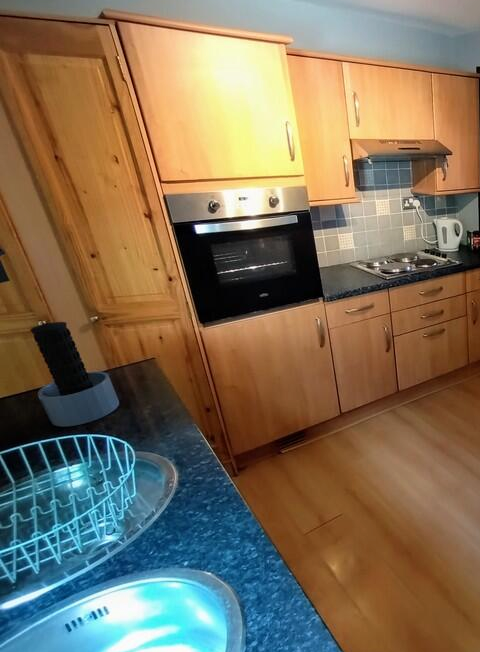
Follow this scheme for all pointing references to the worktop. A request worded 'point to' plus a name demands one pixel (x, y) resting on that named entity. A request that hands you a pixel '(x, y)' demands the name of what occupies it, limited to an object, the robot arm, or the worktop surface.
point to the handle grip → (62, 357)
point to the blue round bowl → (80, 402)
